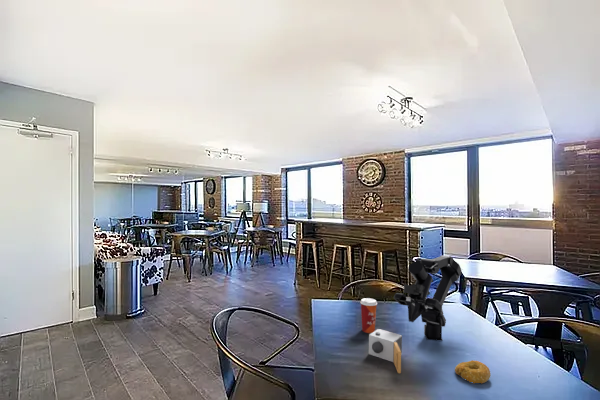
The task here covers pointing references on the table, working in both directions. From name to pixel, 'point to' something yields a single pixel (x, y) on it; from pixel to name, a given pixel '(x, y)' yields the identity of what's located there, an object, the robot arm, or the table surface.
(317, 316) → the table surface
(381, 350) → the white block
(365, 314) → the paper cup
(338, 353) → the table surface
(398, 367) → the side door
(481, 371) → the bagel
